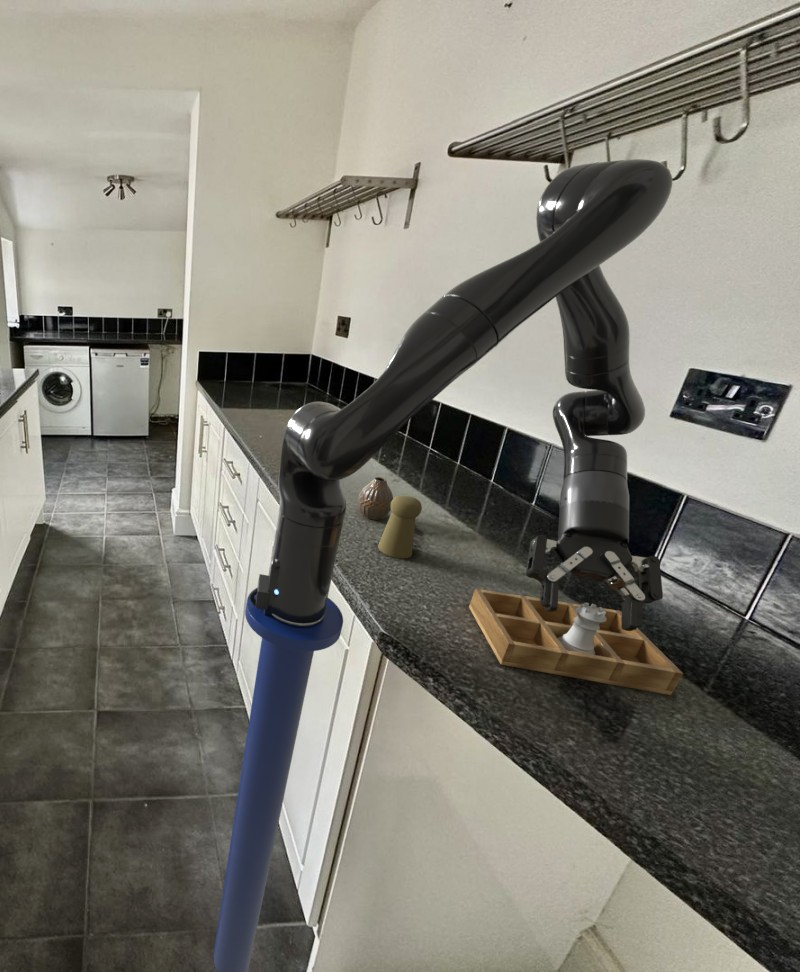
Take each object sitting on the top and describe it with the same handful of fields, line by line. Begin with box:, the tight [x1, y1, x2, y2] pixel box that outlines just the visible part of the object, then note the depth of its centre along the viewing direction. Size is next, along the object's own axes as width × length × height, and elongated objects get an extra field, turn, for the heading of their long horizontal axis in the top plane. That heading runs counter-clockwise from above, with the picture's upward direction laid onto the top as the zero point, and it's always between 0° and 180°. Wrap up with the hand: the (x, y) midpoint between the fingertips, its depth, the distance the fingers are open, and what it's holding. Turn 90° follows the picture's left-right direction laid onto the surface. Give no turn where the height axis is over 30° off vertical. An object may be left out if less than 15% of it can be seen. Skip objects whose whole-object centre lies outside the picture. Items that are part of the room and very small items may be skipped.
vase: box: [357, 476, 394, 521], centre depth 109 cm, size 7×7×9 cm
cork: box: [377, 494, 423, 559], centre depth 95 cm, size 6×6×11 cm
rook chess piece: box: [558, 602, 607, 655], centre depth 68 cm, size 4×4×8 cm
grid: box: [468, 588, 684, 696], centre depth 72 cm, size 20×13×4 cm
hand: (589, 620), depth 67 cm, fingers open, 8 cm apart
